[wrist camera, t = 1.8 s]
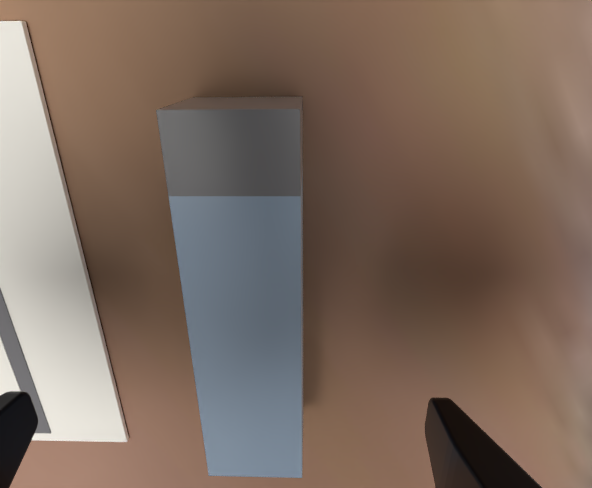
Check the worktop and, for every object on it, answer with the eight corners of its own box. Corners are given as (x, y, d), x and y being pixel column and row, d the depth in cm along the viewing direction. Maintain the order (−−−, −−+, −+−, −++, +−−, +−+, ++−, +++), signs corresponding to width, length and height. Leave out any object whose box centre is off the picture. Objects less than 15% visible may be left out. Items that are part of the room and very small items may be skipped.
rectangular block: (303, 405, 17) (301, 477, 14) (226, 403, 17) (208, 476, 14) (302, 96, 12) (300, 109, 9) (193, 97, 12) (155, 110, 9)
